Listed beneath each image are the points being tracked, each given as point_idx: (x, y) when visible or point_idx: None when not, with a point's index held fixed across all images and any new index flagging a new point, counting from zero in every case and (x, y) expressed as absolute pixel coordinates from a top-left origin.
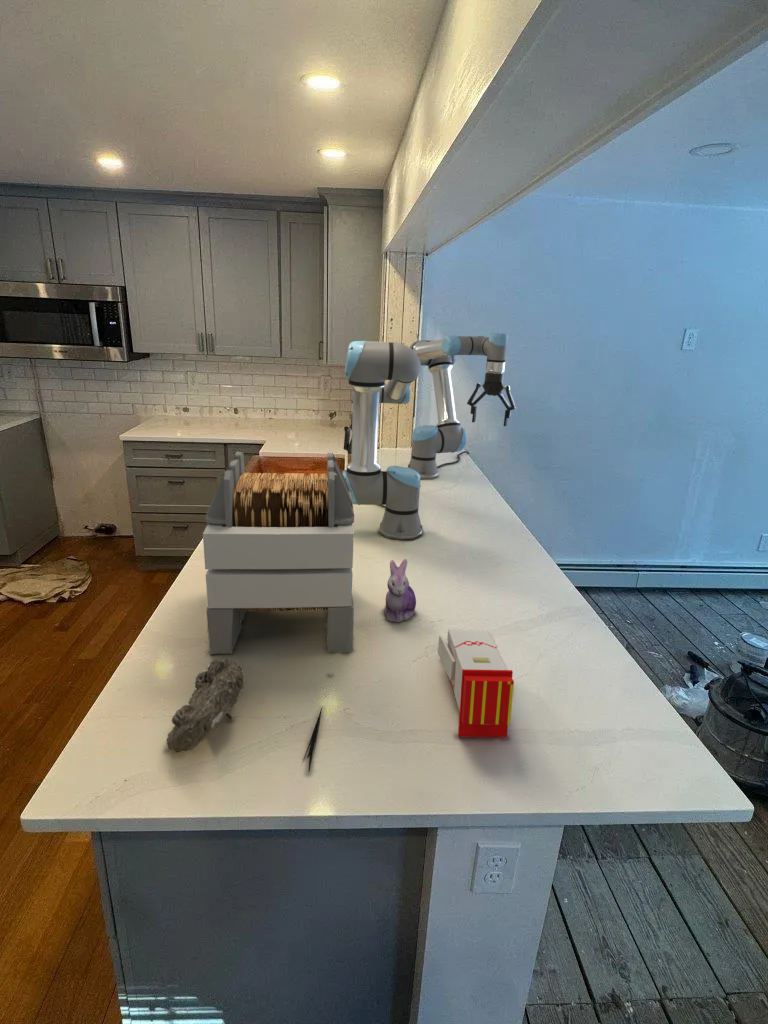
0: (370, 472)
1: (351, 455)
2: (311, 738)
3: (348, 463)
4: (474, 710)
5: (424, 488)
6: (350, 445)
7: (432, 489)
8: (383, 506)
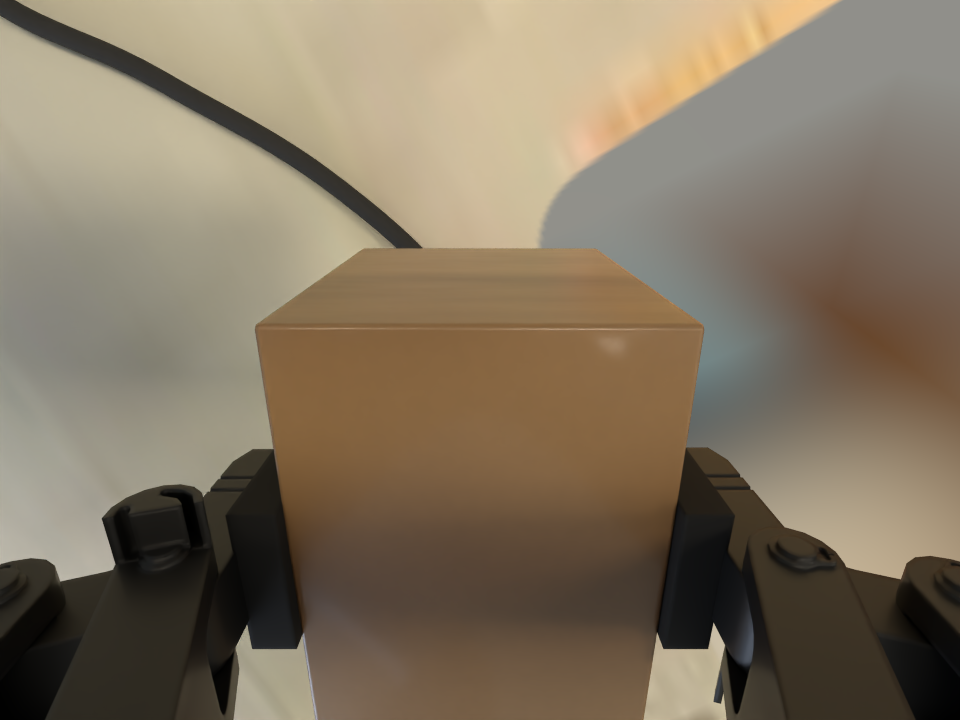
0: None
1: (579, 325)
2: None
3: (612, 274)
4: None
5: None
6: (841, 717)
7: None
8: (14, 1)
